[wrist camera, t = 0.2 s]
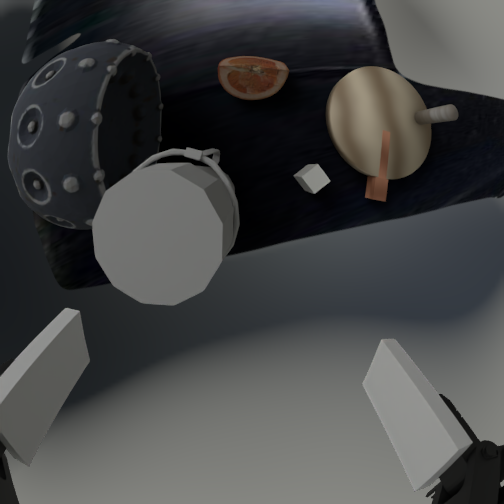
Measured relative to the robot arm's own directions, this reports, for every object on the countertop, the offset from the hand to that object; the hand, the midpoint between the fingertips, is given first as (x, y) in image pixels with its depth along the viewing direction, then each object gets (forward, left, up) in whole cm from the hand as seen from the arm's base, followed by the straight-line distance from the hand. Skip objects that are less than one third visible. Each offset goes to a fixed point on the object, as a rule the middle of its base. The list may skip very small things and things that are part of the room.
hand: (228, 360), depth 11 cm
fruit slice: (-20, 0, -28) cm, 34 cm away
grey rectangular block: (-7, +9, -28) cm, 30 cm away
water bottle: (-5, -4, -28) cm, 29 cm away
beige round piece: (-16, +19, -27) cm, 36 cm away
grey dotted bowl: (-11, -16, -28) cm, 34 cm away
